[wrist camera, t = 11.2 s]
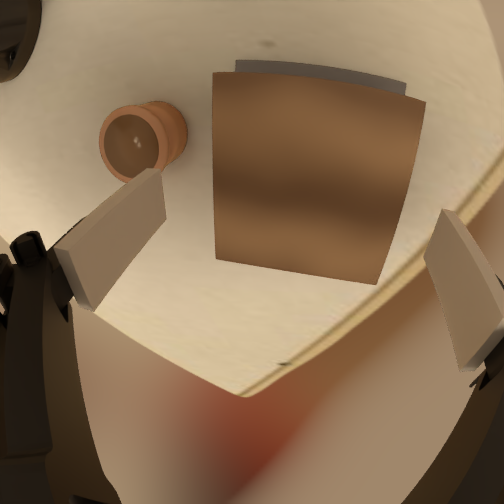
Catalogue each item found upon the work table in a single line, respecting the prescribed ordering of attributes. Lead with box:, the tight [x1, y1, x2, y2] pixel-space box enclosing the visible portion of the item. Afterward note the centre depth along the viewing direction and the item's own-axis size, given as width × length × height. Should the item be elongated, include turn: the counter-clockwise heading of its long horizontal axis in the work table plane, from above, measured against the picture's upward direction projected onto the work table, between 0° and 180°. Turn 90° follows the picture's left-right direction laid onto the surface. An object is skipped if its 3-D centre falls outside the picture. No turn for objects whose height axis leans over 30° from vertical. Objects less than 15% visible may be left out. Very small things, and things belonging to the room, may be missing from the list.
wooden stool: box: [212, 72, 426, 285], centre depth 19 cm, size 12×11×10 cm
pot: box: [99, 101, 187, 183], centre depth 24 cm, size 7×7×5 cm
